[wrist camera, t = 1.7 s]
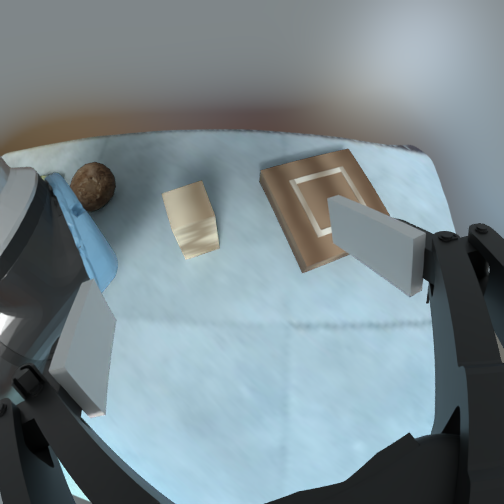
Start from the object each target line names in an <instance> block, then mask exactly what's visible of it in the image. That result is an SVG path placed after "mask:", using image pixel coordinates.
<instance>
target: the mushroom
mask: <svg viewBox="0 0 504 504" xmlns="http://www.w3.org/2000/svg"><path fill="white" fill-rule="evenodd" d="M115 187H116V186H115V178H114V175H113V174H112V172H111V171H110V169H109V168H107V167H106V166H105V165H104V164H101V163H97V162H93V163H88V164H85V165H84V166H83V167H81V168H80V169H78V171H77V172H76V174H75V175H74V177H73V178H72V181H71V185H70V188H71V189H72V191H73V192H74V193H75V195H76V197H77V198H78V200H79V201H80V203H81V204H82V206H83V208H84V209H85V210H86V211H89V212H92V211H95V210H98V209H100V208H101V207H103V206H104V205H105V204H106V203H108V201H109V200H110V199H111V198H112V196H113V194H114V190H115Z"/></svg>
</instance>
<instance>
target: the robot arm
mask: <svg viewBox="0 0 504 504" xmlns="http://www.w3.org/2000/svg"><path fill="white" fill-rule="evenodd" d="M327 201H328V208H329V215H330V222H331V230H332V238H333V243H334V244H335V245H337V246H338V247H340V248H341V249H343V250H344V251H346V252H347V253H349V254H350V255H352V256H353V257H354V258H356V259H357V260H359V261H360V262H362V263H363V264H364V265H366V266H367V267H369V268H370V269H371V270H373V271H374V272H376V273H377V274H378V275H380V276H381V277H383V278H384V279H385V280H387V281H388V282H390V283H391V284H392V285H394V286H395V287H396V288H398V289H399V290H401V291H402V292H403V293H405V294H406V295H407V296H409V297H411V296H413V295H415V294H417V293H418V292H420V291H422V284H423V278H424V279H425V280H427V281H428V282H429V286H428V294H427V302H426V303H429V300H430V308H431V317H432V327H433V339H434V355H435V419H434V424H433V428H432V431H431V435H426V436H422V437H419V438H416V439H414V438H413V436H412V435H411V434H410V433H408V434H406V435H405V436H403V437H402V438H400V439H399V440H397V441H396V442H394V443H393V444H391V445H390V446H388V447H386V448H385V449H383V450H381V451H380V452H378V453H377V454H376V455H374V456H373V457H372V458H371V459H370V460H369V461H368V462H367V463H366V464H365V465H364V466H362V467H361V468H360V469H359V470H358V471H357V472H356V473H354V474H353V475H352V476H351V477H350V478H348V479H347V480H346V481H344V482H341V483H337V484H333V485H329V486H324V487H320V488H315V489H310V490H304V491H299V492H296V493H293V494H291V495H288V496H285V497H283V498H280V499H277V500H274V501H271V502H268V503H265V504H504V363H502V361H501V357H500V353H499V349H498V344H497V341H496V337H495V333H496V335H497V337H498V338H499V340H500V342H501V344H502V346H503V348H504V239H503V238H502V237H501V236H500V235H499V234H498V233H497V232H496V231H494V230H493V229H492V228H491V227H489V226H487V225H485V224H481V223H478V224H473V225H471V226H470V227H469V233H468V236H466V237H462V238H460V237H459V236H458V235H457V234H455V233H453V232H449V231H440V232H437V233H435V234H432V233H430V232H428V231H426V230H424V229H421V228H419V227H416V226H415V225H413V224H410V223H408V222H406V221H404V220H401V219H396V218H392V217H390V216H388V215H386V214H383V213H381V212H379V211H376V210H374V209H372V208H369V207H367V206H365V205H362V204H360V203H357V202H355V201H352V200H350V199H347V198H345V197H342V196H340V195H337V196H333V197H330V198H327ZM488 268H490V273H489V272H488ZM117 269H118V261H117V258H116V255H115V253H114V251H113V250H112V248H111V246H110V245H109V243H108V242H107V240H106V239H105V237H104V236H103V234H102V233H101V231H100V230H99V228H98V227H97V225H96V224H95V222H94V221H93V220H92V218H91V217H90V215H89V214H88V212H87V211H86V210H85V209H84V208H83V206H82V204H81V203H80V201H79V200H78V198H77V197H76V195H75V193H74V192H73V191H72V189H71V188H70V186H69V185H68V184H67V182H66V181H65V180H64V178H63V177H62V176H61V175H60V174H59V173H53V174H51V175H47V176H46V177H45V178H44V180H43V179H42V178H41V177H40V175H39V174H38V173H37V171H36V170H35V169H34V168H32V167H18V168H11V167H9V166H8V165H7V164H6V162H5V161H4V160H3V159H2V157H1V156H0V492H1V497H2V501H3V504H76V503H75V501H74V499H73V496H72V494H71V492H70V489H69V487H68V485H67V482H66V480H65V477H64V474H63V472H62V469H61V466H60V463H59V461H58V459H59V460H60V462H61V463H62V465H63V466H64V468H65V469H66V470H67V472H68V473H69V475H70V476H71V477H72V479H73V480H74V481H75V483H76V484H77V485H78V487H79V488H80V489H81V490H82V492H83V493H84V494H85V495H86V497H87V498H88V499H89V500H90V501H91V503H92V504H175V503H173V502H172V501H171V500H169V499H168V498H167V497H165V496H164V495H163V494H162V493H160V492H159V491H158V490H156V489H155V488H154V487H153V486H151V485H150V484H149V483H148V482H147V481H145V480H144V479H143V478H142V477H141V476H140V475H138V474H137V473H136V472H135V471H134V470H133V469H132V468H131V467H129V466H128V465H127V464H126V463H125V462H124V461H123V460H122V459H121V458H120V457H119V456H118V455H117V454H116V453H115V452H114V451H113V450H112V449H111V448H110V447H109V446H108V445H107V444H106V443H105V442H104V441H103V440H102V439H101V438H100V437H99V436H98V435H97V434H96V433H95V432H94V431H93V429H92V428H91V427H90V426H89V425H88V424H87V423H86V422H85V421H84V420H83V419H82V418H81V412H82V410H83V411H84V412H85V413H86V414H87V415H88V416H89V417H90V418H92V417H98V416H103V415H106V401H107V389H108V378H109V369H110V360H111V353H112V345H113V338H114V331H115V325H116V319H115V317H114V315H113V313H112V312H111V310H110V308H109V306H108V304H107V302H106V301H105V299H104V297H103V295H102V292H103V291H104V290H105V289H106V287H107V286H108V285H109V284H110V282H111V281H112V280H113V279H114V277H115V275H116V273H117ZM494 331H495V333H494ZM57 457H58V458H57Z"/></svg>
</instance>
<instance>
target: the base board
mask: <svg viewBox="0 0 504 504" xmlns="http://www.w3.org/2000/svg"><path fill="white" fill-rule="evenodd" d="M259 182H260V184H261V186H262V188H263V190H264V192H265V194H266V196H267V198H268V200H269V202H270V204H271V207H272V209H273V211H274V213H275V215H276V217H277V219H278V221H279V224H280V226H281V228H282V230H283V232H284V234H285V236H286V239H287V241H288V243H289V245H290V247H291V249H292V252H293V254H294V256H295V258H296V260H297V263H298V265H299V267H300V269H301V272H302V273H304V272H307V271H310V270H312V269H315V268H317V267H320V266H322V265H325V264H327V263H330V262H332V261H335V260H337V259H340V258H342V257H345V256H347V255H349V253H347V252H346V251H344V250H343V249H341V248H340V247H338V246H337V245H335V244H334V243H333V238H332V230H331V222H330V215H329V208H328V201H327V198H330V197H333V196H337V195H340V196H342V197H345V198H347V199H350V200H352V201H355V202H357V203H360V204H362V205H365V206H367V207H369V208H372V209H374V210H376V211H379V212H381V213H383V214H386V215H388V216H390V215H389V213H388V212H387V210H386V208H385V206H384V205H383V203H382V201H381V199H380V198H379V196H378V194H377V193H376V191H375V189H374V188H373V186H372V184H371V183H370V181H369V180H368V178H367V176H366V175H365V173H364V172H363V170H362V168H361V167H360V165H359V164H358V162H357V161H356V159H355V158H354V156H353V155H352V153H351V152H350V150H349V149H345V150H340V151H336V152H331V153H327V154H322V155H318V156H314V157H310V158H306V159H302V160H298V161H294V162H290V163H286V164H282V165H278V166H275V167H271V168H267V169H264V170H261V173H260V181H259Z"/></svg>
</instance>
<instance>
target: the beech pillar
mask: <svg viewBox="0 0 504 504" xmlns="http://www.w3.org/2000/svg"><path fill="white" fill-rule="evenodd" d="M162 197H163V201H164V205H165V208H166V212H167V215H168V219H169V222H170V225H171V229H172V231H173V234H174V236H175V238H176V240H177V242H178V244H179V246H180V248H181V250H182V253H183V255H184V257H185V259H186V260H187V259H190V258H193V257H196V256H199V255H202V254H205V253H207V252H210V251H213V250H216V249H219V248H220V247H219V240H218V233H217V226H216V219H215V214H214V211H213V209H212V206H211V203H210V201H209V198H208V195H207V193H206V190H205V187H204V185H203V182H202V180H201V181H198V182H195V183H192V184H189V185H186V186H183V187H180V188H177V189H174V190H171V191H168V192H165V193H162Z"/></svg>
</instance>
